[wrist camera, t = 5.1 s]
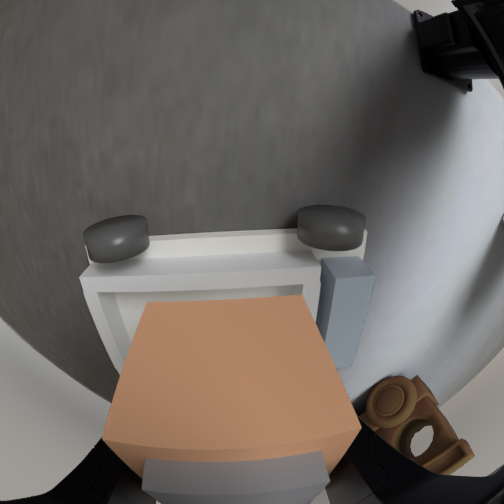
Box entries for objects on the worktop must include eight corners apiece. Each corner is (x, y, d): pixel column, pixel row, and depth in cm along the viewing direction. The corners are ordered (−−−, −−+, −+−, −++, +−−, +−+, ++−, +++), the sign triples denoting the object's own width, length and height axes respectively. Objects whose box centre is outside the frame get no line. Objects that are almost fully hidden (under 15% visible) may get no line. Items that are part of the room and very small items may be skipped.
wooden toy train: (410, 353, 27) (472, 456, 12) (430, 378, 31) (476, 456, 16) (289, 432, 32) (309, 531, 17) (330, 443, 36) (352, 521, 21)
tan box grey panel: (302, 294, 9) (375, 459, 3) (288, 401, 11) (315, 512, 6) (146, 302, 8) (94, 472, 3) (179, 407, 11) (173, 520, 5)
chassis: (364, 205, 19) (394, 224, 15) (335, 361, 26) (348, 392, 22) (86, 219, 18) (56, 242, 14) (135, 371, 24) (126, 403, 20)
